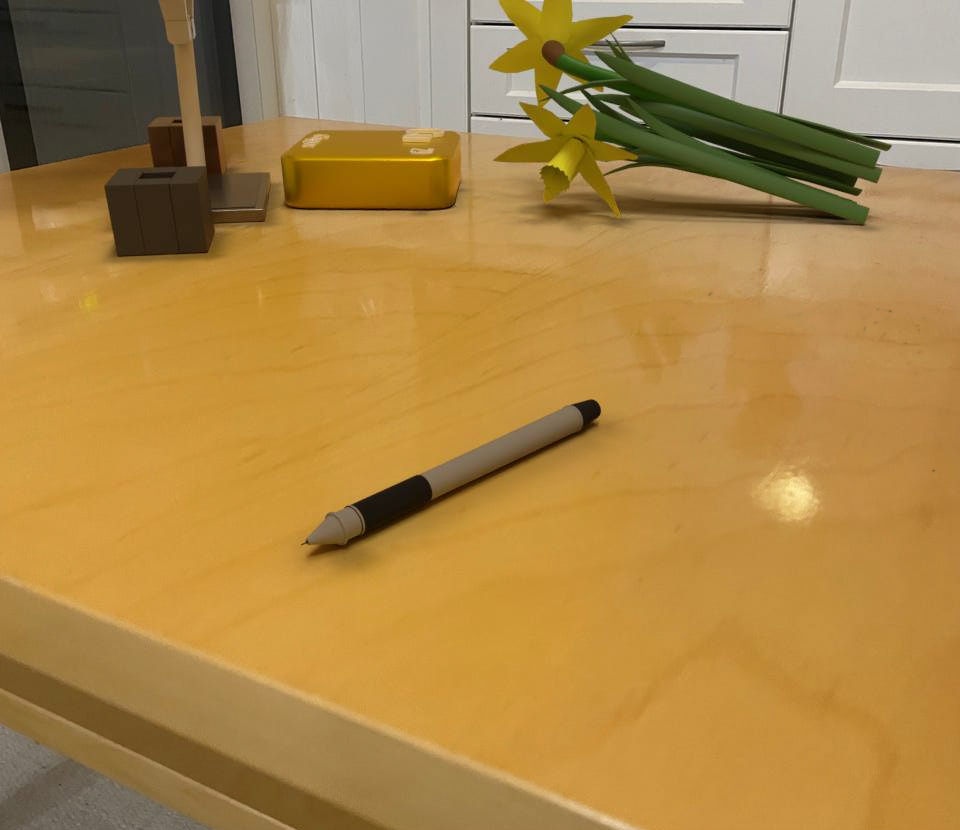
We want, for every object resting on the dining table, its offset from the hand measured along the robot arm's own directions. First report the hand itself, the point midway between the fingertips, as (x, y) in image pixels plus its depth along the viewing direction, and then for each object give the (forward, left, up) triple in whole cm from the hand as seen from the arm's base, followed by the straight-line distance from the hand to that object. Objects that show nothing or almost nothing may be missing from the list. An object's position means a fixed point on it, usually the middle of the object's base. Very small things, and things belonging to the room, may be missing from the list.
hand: (182, 42), depth 81 cm
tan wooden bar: (0, -3, -12) cm, 12 cm away
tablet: (0, -4, -13) cm, 13 cm away
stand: (-2, +10, -13) cm, 17 cm away
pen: (+16, -59, -13) cm, 62 cm away
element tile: (+16, -2, -13) cm, 21 cm away
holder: (-1, -18, -13) cm, 22 cm away
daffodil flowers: (+41, -12, -13) cm, 45 cm away
